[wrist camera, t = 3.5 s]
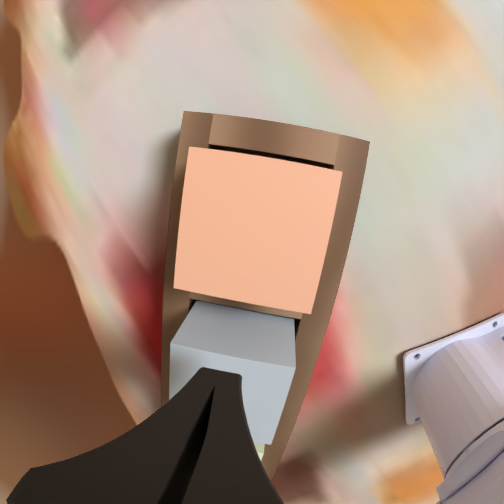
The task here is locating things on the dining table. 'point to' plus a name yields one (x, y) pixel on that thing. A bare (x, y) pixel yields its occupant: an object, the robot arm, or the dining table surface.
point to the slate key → (239, 358)
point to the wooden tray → (315, 324)
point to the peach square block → (254, 228)
